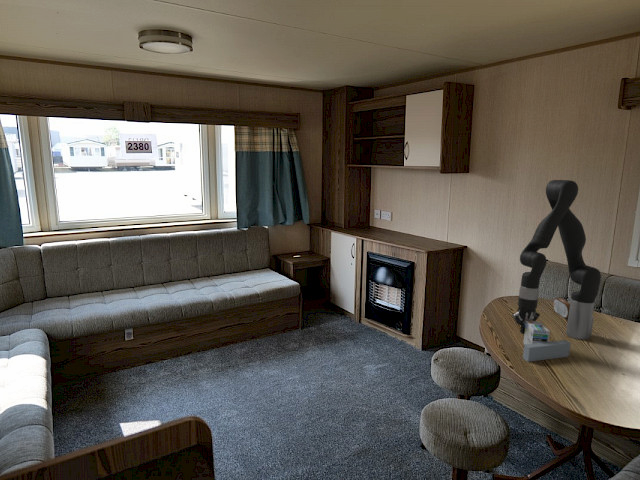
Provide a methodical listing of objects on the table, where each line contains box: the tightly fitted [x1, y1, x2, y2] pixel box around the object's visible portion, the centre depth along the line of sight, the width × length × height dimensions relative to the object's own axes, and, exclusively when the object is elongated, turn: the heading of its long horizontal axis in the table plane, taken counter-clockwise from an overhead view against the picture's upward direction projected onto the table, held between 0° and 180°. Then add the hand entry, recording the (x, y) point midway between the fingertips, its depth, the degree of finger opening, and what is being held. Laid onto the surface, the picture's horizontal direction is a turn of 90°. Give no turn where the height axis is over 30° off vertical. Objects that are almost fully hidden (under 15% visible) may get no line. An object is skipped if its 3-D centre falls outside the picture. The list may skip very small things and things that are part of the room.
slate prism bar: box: [522, 339, 571, 363], centre depth 176 cm, size 20×3×6 cm, turn 105°
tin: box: [552, 297, 570, 320], centre depth 223 cm, size 15×3×8 cm, turn 179°
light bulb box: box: [522, 320, 551, 346], centre depth 183 cm, size 11×7×11 cm, turn 172°
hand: (523, 333), depth 190 cm, fingers closed
